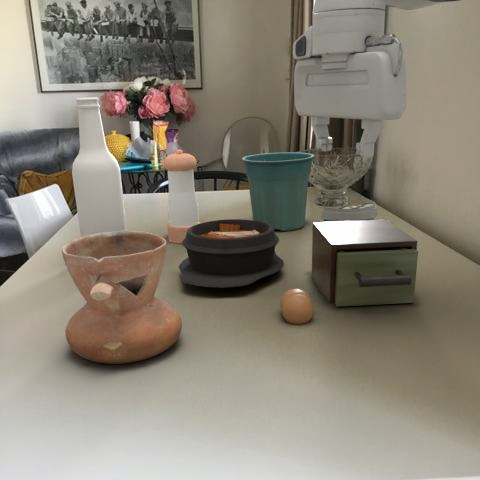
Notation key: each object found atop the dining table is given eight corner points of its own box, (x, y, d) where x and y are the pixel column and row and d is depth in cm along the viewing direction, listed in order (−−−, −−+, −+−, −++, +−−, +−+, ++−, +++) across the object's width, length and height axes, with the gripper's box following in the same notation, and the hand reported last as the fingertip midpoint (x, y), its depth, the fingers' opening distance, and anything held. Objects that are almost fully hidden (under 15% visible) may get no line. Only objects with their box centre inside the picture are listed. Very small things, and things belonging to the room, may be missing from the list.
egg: (278, 313, 83) (278, 285, 81) (307, 312, 83) (308, 283, 82) (284, 330, 77) (284, 300, 75) (316, 329, 77) (316, 299, 76)
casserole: (203, 253, 114) (201, 211, 111) (295, 257, 110) (295, 214, 107) (156, 294, 92) (151, 244, 89) (268, 302, 88) (267, 249, 84)
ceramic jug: (172, 380, 65) (162, 261, 59) (48, 381, 66) (27, 263, 60) (192, 320, 81) (185, 223, 76) (93, 321, 82) (79, 225, 77)
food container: (343, 267, 103) (345, 212, 99) (320, 260, 108) (321, 207, 104) (388, 254, 110) (392, 202, 106) (364, 248, 114) (367, 198, 110)
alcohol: (93, 254, 116) (72, 97, 105) (135, 254, 115) (118, 96, 104) (77, 266, 108) (53, 98, 97) (122, 266, 107) (103, 97, 96)
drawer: (424, 313, 79) (429, 259, 76) (343, 317, 78) (346, 263, 75) (385, 274, 95) (389, 229, 92) (318, 278, 95) (320, 232, 92)
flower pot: (247, 235, 127) (245, 161, 121) (241, 220, 142) (239, 153, 136) (319, 232, 128) (321, 158, 122) (306, 217, 143) (306, 150, 137)
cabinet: (411, 302, 85) (417, 240, 82) (329, 307, 85) (331, 244, 81) (383, 273, 99) (386, 219, 95) (311, 277, 98) (312, 222, 95)
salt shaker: (167, 236, 128) (160, 148, 121) (199, 234, 129) (194, 147, 122) (169, 244, 122) (162, 152, 114) (203, 242, 123) (198, 150, 115)
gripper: (424, 31, 63) (414, 159, 69) (324, 45, 81) (322, 146, 86) (379, 31, 61) (371, 163, 66) (286, 45, 78) (286, 149, 83)
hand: (343, 153), depth 76 cm, fingers open, 8 cm apart
